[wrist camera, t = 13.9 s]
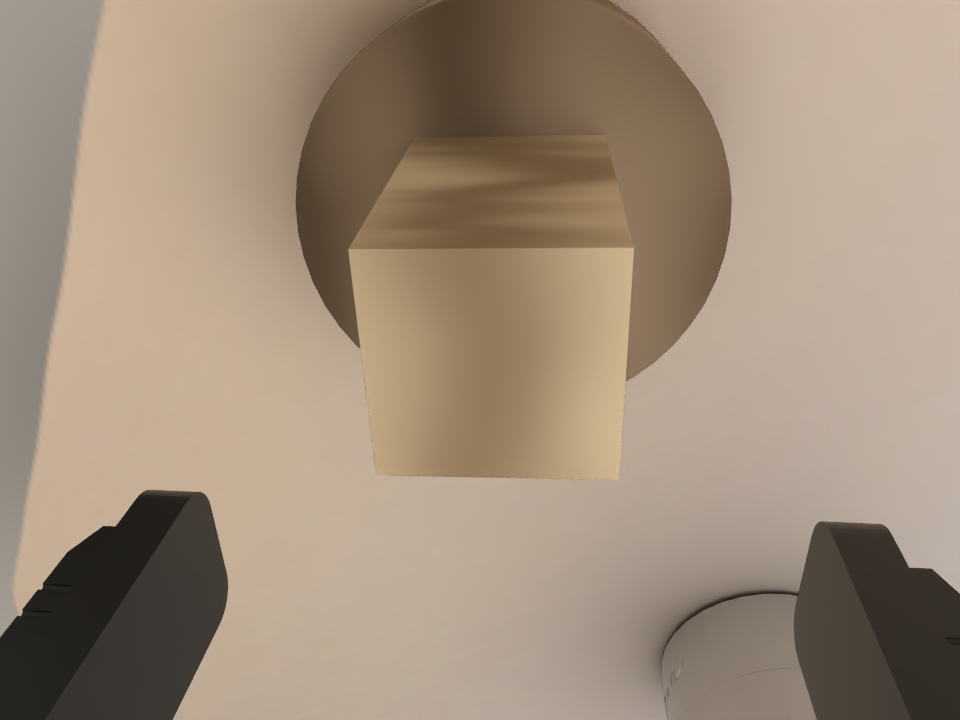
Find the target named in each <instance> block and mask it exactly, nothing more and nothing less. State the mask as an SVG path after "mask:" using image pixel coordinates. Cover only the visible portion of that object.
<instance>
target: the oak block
mask: <svg viewBox="0 0 960 720" xmlns="http://www.w3.org/2000/svg"><path fill="white" fill-rule="evenodd" d="M348 252H349V260H350V268H351V276H352V284H353V292H354V300H355V308H356V316H357V325H358V333H359V341H360V349H361V357H362V365H363V373H364V381H365V389H366V398H367V406H368V414H369V422H370V430H371V438H372V446H373V454H374V462H375V471H376V475H391V476H444V477H497V478H550V479H603V480H619V475H620V460H621V444H622V428H623V413H624V397H625V381H626V366H627V350H628V334H629V319H630V303H631V287H632V272H633V256H634V246H633V242H632V238H631V234H630V230H629V226H628V222H627V218H626V214H625V210H624V206H623V202H622V198H621V195H620V191H619V187H618V183H617V179H616V175H615V171H614V167H613V163H612V159H611V155H610V151H609V147H608V144H607V140H606V136H605V135H556V136H496V137H437V138H414V140H413V141H412V143H411V145H410V146H409V148H408V150H407V151H406V153H405V155H404V156H403V158H402V160H401V161H400V163H399V165H398V166H397V168H396V170H395V171H394V173H393V175H392V176H391V178H390V180H389V182H388V183H387V185H386V187H385V188H384V190H383V192H382V193H381V195H380V197H379V198H378V200H377V202H376V203H375V205H374V207H373V208H372V210H371V212H370V213H369V215H368V217H367V218H366V220H365V222H364V223H363V225H362V227H361V229H360V230H359V232H358V234H357V235H356V237H355V239H354V240H353V242H352V244H351V245H350V247H349V249H348Z"/></svg>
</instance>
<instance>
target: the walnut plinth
mask: <svg viewBox="0 0 960 720" xmlns="http://www.w3.org/2000/svg"><path fill="white" fill-rule="evenodd" d="M556 135H605V136H606V140H607V144H608V147H609V151H610V155H611V159H612V163H613V167H614V171H615V175H616V179H617V183H618V187H619V191H620V195H621V198H622V202H623V206H624V210H625V214H626V218H627V222H628V226H629V230H630V234H631V238H632V242H633V246H634V256H633V272H632V287H631V303H630V319H629V334H628V350H627V366H626V381H627V380H629V379H631V378H633V377H634V376H636V375H637V374H639V373H640V372H641V371H643V370H644V369H646V368H647V367H648V366H650V365H651V364H653V363H654V362H655V361H656V360H657V359H658V358H660V357H661V356H662V355H663V354H664V353H665V352H666V351H667V350H668V349H669V348H671V347H672V346H673V345H674V344H675V342H676V341H677V340H678V339H679V338H680V337H681V335H682V334H683V333H684V332H685V331H686V330H687V329H688V327H689V326H690V325H691V323H692V322H693V320H694V319H695V317H696V316H697V314H698V313H699V311H700V310H701V308H702V307H703V305H704V304H705V302H706V300H707V298H708V296H709V294H710V292H711V290H712V288H713V285H714V283H715V281H716V279H717V276H718V273H719V270H720V267H721V264H722V261H723V258H724V255H725V251H726V246H727V241H728V236H729V230H730V220H731V200H732V198H731V187H730V176H729V169H728V164H727V160H726V156H725V152H724V147H723V143H722V140H721V138H720V135H719V133H718V130H717V128H716V125H715V123H714V120H713V118H712V115H711V113H710V111H709V110H708V108H707V106H706V104H705V103H704V101H703V99H702V97H701V96H700V94H699V92H698V90H697V89H696V87H695V86H694V85H693V84H692V82H691V81H690V80H689V78H688V77H687V76H686V75H685V73H684V72H683V71H682V70H681V68H680V67H679V66H678V65H677V63H676V62H675V61H674V60H673V59H672V57H671V56H670V55H669V54H668V53H667V52H666V50H665V49H664V48H663V47H662V46H661V44H660V43H659V42H658V41H657V40H656V39H655V37H654V36H653V35H652V34H651V33H650V32H648V31H647V30H646V29H645V28H644V27H643V26H642V25H641V24H640V23H639V22H638V21H637V20H636V19H635V18H633V17H632V16H630V15H629V14H628V13H626V12H625V11H623V10H622V9H621V8H619V7H618V6H616V5H615V4H613V3H611V2H609V1H608V0H431V1H429V2H427V3H426V4H424V5H422V6H421V7H419V8H417V9H416V10H414V11H413V12H411V13H410V14H409V15H407V16H406V17H405V18H403V19H402V20H400V21H399V22H398V23H396V24H395V25H394V26H392V27H391V28H389V29H388V30H387V31H385V32H384V33H383V34H382V35H380V36H379V37H378V38H377V39H375V40H374V41H373V42H372V43H370V44H369V45H368V46H367V47H366V48H364V49H363V50H362V51H361V52H360V53H359V54H358V55H357V56H356V57H355V58H354V59H353V60H352V61H351V63H350V64H349V65H348V66H347V67H346V68H345V69H344V70H343V71H342V72H341V73H340V75H339V76H338V78H337V79H336V81H335V82H334V84H333V85H332V86H331V88H330V89H329V91H328V92H327V94H326V95H325V97H324V98H323V100H322V102H321V104H320V106H319V108H318V110H317V112H316V114H315V116H314V118H313V120H312V122H311V125H310V128H309V131H308V134H307V137H306V140H305V143H304V146H303V149H302V153H301V159H300V164H299V170H298V175H297V190H296V212H297V223H298V233H299V237H300V241H301V246H302V250H303V255H304V259H305V261H306V264H307V267H308V269H309V272H310V275H311V278H312V280H313V283H314V285H315V287H316V289H317V290H318V292H319V294H320V296H321V298H322V300H323V302H324V304H325V306H326V307H327V309H328V310H329V312H330V313H331V314H332V316H333V317H334V319H335V320H336V322H337V323H338V325H339V326H340V327H341V328H342V330H343V331H344V332H345V333H346V334H347V335H348V336H349V338H350V339H351V340H352V341H353V342H354V343H355V344H356V345H357V346H358V347H359V348H360V341H359V333H358V325H357V316H356V308H355V300H354V292H353V284H352V276H351V268H350V260H349V252H348V249H349V247H350V245H351V244H352V242H353V240H354V239H355V237H356V235H357V234H358V232H359V230H360V229H361V227H362V225H363V223H364V222H365V220H366V218H367V217H368V215H369V213H370V212H371V210H372V208H373V207H374V205H375V203H376V202H377V200H378V198H379V197H380V195H381V193H382V192H383V190H384V188H385V187H386V185H387V183H388V182H389V180H390V178H391V176H392V175H393V173H394V171H395V170H396V168H397V166H398V165H399V163H400V161H401V160H402V158H403V156H404V155H405V153H406V151H407V150H408V148H409V146H410V145H411V143H412V141H413V140H414V138H437V137H496V136H556Z"/></svg>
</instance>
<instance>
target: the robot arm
mask: <svg viewBox="0 0 960 720" xmlns="http://www.w3.org/2000/svg"><path fill="white" fill-rule="evenodd" d="M227 594H228V579H227V572H226V568H225V564H224V560H223V556H222V551H221V547H220V543H219V539H218V535H217V531H216V526H215V522H214V518H213V514H212V510H211V506H210V502H209V500H208V498H207V497H206V495H205V494H203V493H201V492H186V491H163V490H146V491H144V492H143V493H141V494H140V495H139V496H138V497H137V499H136V500H135V501H134V503H133V504H132V505H131V507H130V508H129V509H128V511H127V512H126V513H125V515H124V516H123V517H122V519H121V520H120V521H119V523H118V524H117V526H116V527H112V526H103V527H101V528H100V529H99V530H97V531H96V532H95V533H93V534H92V535H90V536H89V537H88V538H86V539H85V540H84V541H82V542H81V543H79V544H78V545H77V546H75V547H74V548H73V549H71V550H70V551H68V552H67V554H66V555H65V556H64V557H63V559H62V560H61V561H60V562H59V564H58V565H57V566H56V567H55V569H54V570H53V571H52V573H51V574H50V575H49V576H48V578H47V579H46V580H45V581H44V583H43V588H42V590H37V592H36V593H35V594H34V595H33V597H32V598H31V599H30V600H29V602H28V603H27V604H26V606H25V607H24V608H23V609H22V610H23V613H22V615H21V616H17V617H16V618H15V619H14V621H13V622H12V623H11V625H10V626H9V627H8V628H7V630H6V631H5V632H4V633H3V635H2V636H1V637H0V720H173V718H174V716H175V714H176V712H177V710H178V708H179V706H180V703H181V701H182V699H183V697H184V695H185V693H186V691H187V689H188V687H189V685H190V683H191V681H192V679H193V677H194V675H195V673H196V671H197V669H198V667H199V665H200V663H201V661H202V659H203V657H204V655H205V653H206V651H207V649H208V647H209V645H210V643H211V641H212V639H213V637H214V635H215V633H216V630H217V628H218V626H219V624H220V622H221V620H222V617H223V614H224V611H225V607H226V602H227ZM661 666H662V680H663V687H664V693H665V696H664V699H665V707H666V713H667V719H668V720H960V594H959V593H958V592H957V591H956V590H955V589H954V588H953V587H951V586H950V585H949V584H948V583H947V582H946V581H945V580H944V579H942V578H941V577H940V576H939V575H938V574H937V573H936V572H935V571H934V570H932V569H925V568H909V567H908V565H907V563H906V561H905V559H904V557H903V555H902V553H901V551H900V549H899V548H898V546H897V544H896V542H895V540H894V538H893V536H892V534H891V533H890V531H889V530H888V529H887V527H885V526H884V525H882V524H866V523H844V522H819V523H817V525H816V526H815V528H814V530H813V534H812V537H811V542H810V546H809V550H808V554H807V559H806V563H805V567H804V572H803V576H802V580H801V584H800V589H799V593H798V596H795V595H790V594H759V595H751V596H743V597H739V598H735V599H732V600H728V601H724V602H721V603H719V604H717V605H714V606H712V607H710V608H708V609H705V610H703V611H701V612H700V613H698V614H697V615H695V616H694V617H692V618H691V619H689V620H688V621H686V622H685V623H684V624H683V625H682V626H681V627H680V628H679V629H678V630H677V631H676V633H675V634H674V635H673V636H672V638H671V640H670V641H669V643H668V645H667V646H666V648H665V651H664V655H663V658H662V662H661Z"/></svg>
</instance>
